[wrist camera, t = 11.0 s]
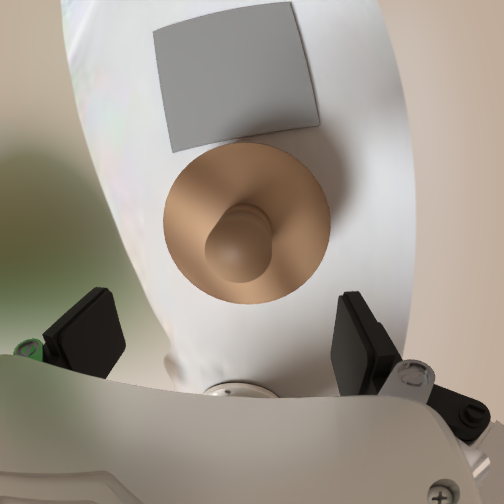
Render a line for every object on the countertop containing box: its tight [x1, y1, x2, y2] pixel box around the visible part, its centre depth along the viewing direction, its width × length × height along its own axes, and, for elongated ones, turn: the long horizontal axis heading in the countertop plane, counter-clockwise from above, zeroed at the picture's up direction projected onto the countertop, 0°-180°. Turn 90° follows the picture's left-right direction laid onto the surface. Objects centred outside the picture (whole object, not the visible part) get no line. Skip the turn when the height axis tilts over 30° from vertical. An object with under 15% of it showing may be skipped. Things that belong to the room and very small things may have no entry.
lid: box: [163, 143, 330, 304], centre depth 19 cm, size 13×13×6 cm
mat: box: [153, 2, 319, 153], centre depth 22 cm, size 14×14×1 cm
